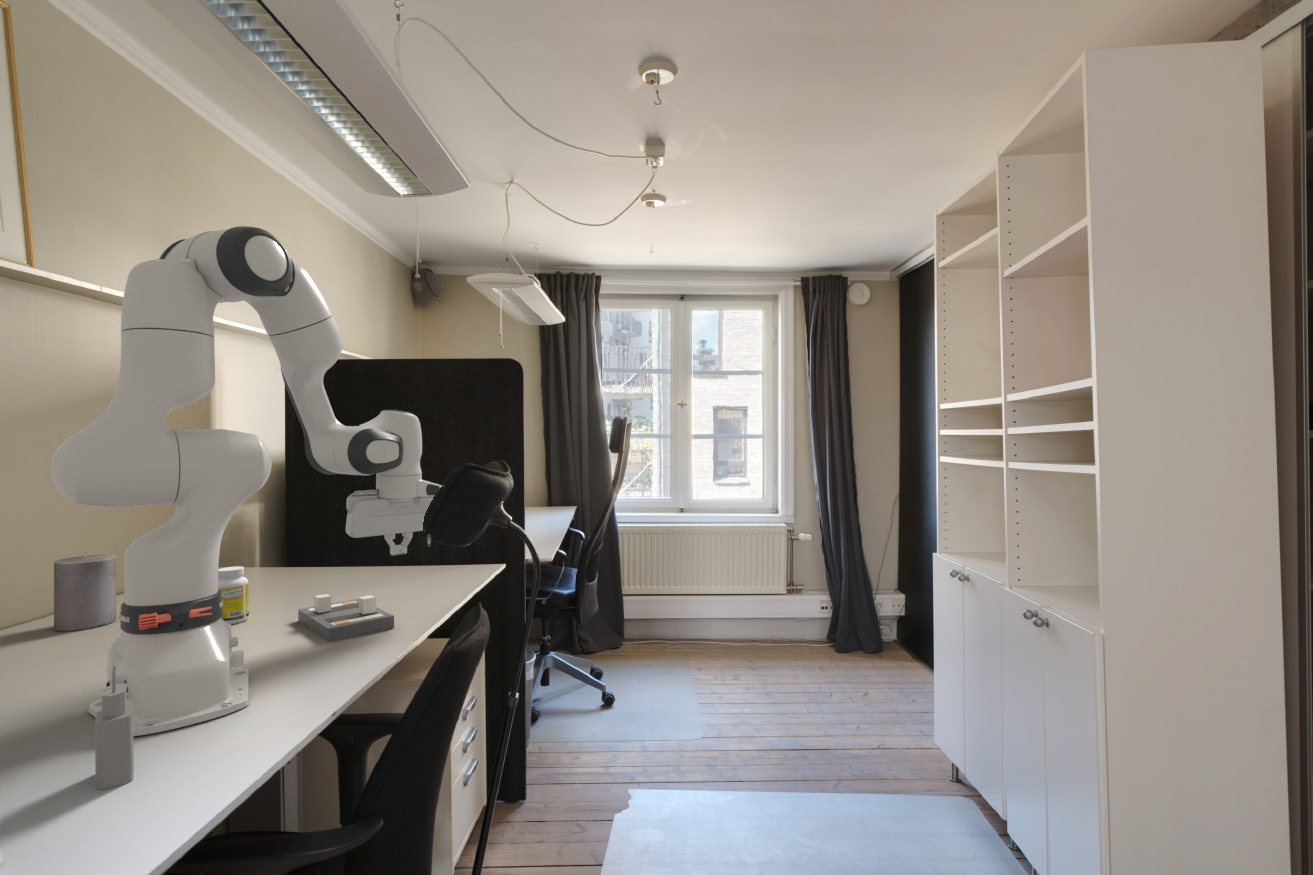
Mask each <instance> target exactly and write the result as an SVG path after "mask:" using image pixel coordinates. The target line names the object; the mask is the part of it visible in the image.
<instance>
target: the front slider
mask: <svg viewBox="0 0 1313 875" xmlns="http://www.w3.org/2000/svg"><path fill="white" fill-rule="evenodd" d="M376 598H377V597H376V596H374V595H371V594H370V595H363V596H359V597H358V599H359V612H360V613H361V614H363V615H364V614H369V613H374V612H376V607H377V604H376V602H377V599H376Z"/></svg>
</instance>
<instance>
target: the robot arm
mask: <svg viewBox="0 0 1313 875" xmlns="http://www.w3.org/2000/svg"><path fill="white" fill-rule="evenodd" d="M125 283H126V284H125V288H124V293H123V298H122V306H121V318H120V322H121V323H120V362H119V363H120V365H119V374H118V381H117V386H116V389H115V392H114V394H113V396H112V398H111V400H110V402H109V403H108V405H107V406H106V408H105V409H104V410H103V412H101V414H100V415H99V416H98V417H96V418H95V420H93V421H92V422H91V423H89V424H88V425H87V426H85V427H83V428H81V430H79V431H77V432H75V433H73V434H72V435H70V436H69V437H67V438H66V439H65V440H64V441H63V442H62V443H61V444H60V445H59V446H58V448H57V449H56V451H55V452H54V455H52V456H53V457H52V459H51V463H50V474H51V478H52V481H53V483H54V486H55V487H56V489H57V490H58V492H60V494H61V495H62V496H63V497H64V498H66V499H67V500H68V501H70V502H71V503H73V504H80V505H86V506H87V505H89V506H101V507H116V508H117V507H118V508H119V507H129V506H130V507H131V506H132V507H133V506H145V505H147V506H148V505H160V504H161V505H162V504H163V505H164V504H175V505H176V509H175V512H174V513H173V516H172V517H171V518H170V520H168V521H167V522H165V523H164V524H162V525H160V526H158V527H155V528H153V529H151V530H149V531H147V532H145V533H144V534H142V535H140V536H139V537H137V538H135V540H133V541H132V542H131V543H130V544H129V546H128V547H127V549H126V550H125V553H124V556H123V559H124V560H123V565H124V566H123V570H124V571H123V573H124V574H123V578H124V579H123V580H124V585H123V586H124V589H123V590H124V591H123V592H124V601H123V603H121V604H120V612H119V620H120V629H121V631H122V632H121V634H120V635H119V636H118V638H116V639H115V641H113V642H112V643H111V644H110V645H108V646H107V650H106V685H105V687H108V686H111V685H112V671H113V666H116V684H126V685H127V702H133V737H137V736H138V737H139V736H144V735H151V734H154V733H155V734H156V733H161V732H165V731H167V732H168V731H171V730H174V729H175V730H176V729H179V728H182V727H183V728H184V727H187V726H191V725H194V724H199V723H202V722H206V721H210V720H212V719H216V718H219V717H222V716H223V717H224V716H225V715H228V714H231V713H234V712H236V711H238V710H241V709H243V708H245V707H247V706H248V705H249V703H250V702H249V701H250V672H249V669H248V668H238V667H243V666H244V665H245V662H244V661H245V659H244V658H245V657H244V655H245V654H244V651H245V650H243V649H239V650H235V651H234V650H233V648H235V647H238V644H239V638H238V636H232V633H233V632H232V631H233V629H232V628H233V624H231V625H230V624H229V623H227V622H225V621H224V620H223V619H222V618H221V617H222V616H223V607H222V606H223V599H222V594H221V591H219V590H218V579H219V577H218V569H219V566H220V565H219V564H220V552H221V551H220V550H221V543H222V540H223V535H224V533H225V530H226V528H227V526H228V524H229V522H230V521H231V519H232V518H233V516H234V515H235V513H236V512H237V510H238V509H239V508H240V507H241V506H242V505H243V504H244V503H245V502H246V501H247V500H248V499H249V498H250V497H252V496H253V495H255V494H257V492H259V491H260V490H261V489H262V488H263V487H264V486H265V484H266V483H267V481H268V480H269V477H270V475H271V471H272V466H273V465H272V463H273V462H272V457H271V452H270V451H269V448H268V446H267V445H266V443H265V442H264V441H263V440H262V439H261V438H260V437H259V436H257V435H256V434H252V433H248V432H242V431H236V430H230V429H224V428H215V429H214V428H207V429H205V428H168V427H167V426H166V425H167V419H168V417H169V415H170V413H171V412H172V411H174V410H177V409H179V408H183V407H185V406H188V405H190V404H193V403H195V402H198V401H199V400H201V399H203V398H205V397H206V396H208V395H209V394H210V393H211V392H212V390H213V388H214V386H215V384H216V364H215V363H216V361H215V358H216V357H215V354H216V353H215V326H214V314H215V310H216V308H217V306H218V304H221V303H240V302H243V301H244V302H246V303H247V304H248V305H250V306H251V307H252V308H253V309H254V311H255V312H257V314H258V316H259V318H260V321H261V324H262V326H263V328H264V330H265V332H266V335H268V338H269V341H270V342H271V344H272V347H273V348H274V351H275V353H276V355H277V358H278V361H279V364H280V372H281V377H282V380H283V382H284V386H285V388H286V391H287V393H288V397H289V398H290V401H291V404H292V406H293V408H294V411H295V414H296V416H297V419H298V421H299V423H300V426H301V428H302V434H303V439H304V452H305V456H306V459H307V461H308V464H310V465H311V467H312V468H313V469H314V470H316V471H317V472H319V473H321V474H323V475H324V474H325V475H329V476H331V475H350V476H351V475H352V476H371V475H375V474H376V476H375V481H376V482H375V489H367V490H355V491H353V493H350V494H349V495H348V496H347V498H346V500H345V501H346V503H345V504H346V506H345V508H346V511H347V515H346V519H345V520H346V522H345V533H346V534H347V535H348V536H349V537H351V538H355V539H357V538H367V537H378V536H384V537H383V538H384V540H385V541H386V543H387V544H388V547H389V554H390V556H399V555H404V554H406V555H407V553H408V545H410V542H411V541H412V539H413V536H414V533H415V532H422V531H423V522H424V516H425V513H426V511H427V509H428V507H429V505H430V503H431V501H432V500H433V497H434V496H435V494H436V493H437V492H438V491H439V489H440V488H441V487H442V486H443V485H441V484H438V483H434V482H431V481H430V480H425V479H423V478H422V477H423V475H422V474H423V472H422V468H421V457H422V455H423V436H422V435H423V433H422V427H421V422H420V419H419V418H418V416H417V415H415V414H414V413H412V412H409V411H403V410H397V409H384V410H381V411H380V413H379V414H378V415H377V416H376V417H374V418H372V419H370V420H369V421H366V422H364V423H361V424H359V425H353V426H352V425H344V424H343V423H341V422H340V421H338V419H337V418H336V416H335V413H334V411H333V408H332V405H331V403H330V400H329V396H328V395H327V391H326V389H325V384H324V377H325V374H326V373H327V371H328V370H329V369H330V368H332V367H333V366H334V365H335V364H336V362H337V361H338V359H339V358H340V356H341V354H342V351H343V347H344V346H343V341H342V340H343V339H342V336H341V332H340V330H339V327H338V325H337V322H336V320H335V318H334V316H333V313H332V311H331V310H330V307H329V305H328V303H327V302H326V299H325V297H324V296H323V294H322V293H321V291H320V289H319V287H318V286H317V284H316V283H315V281H314V280H313V278H312V277H311V276H310V274H309V273H308V271H307V270H306V269H305V268H304V267H303V266H301V265H300V264H298V263H297V262H294V261H293V259H292V257H291V256H290V254H289V252H288V250H287V249H286V247H285V246H284V245H283V243H282V242H281V241H280V240H279V239H278V238H277V237H276V236H275V235H274V234H272V233H270V231H267V230H265V229H264V228H260V227H255V226H247V225H246V226H245V225H244V226H234V227H230V228H228V229H219V230H209V231H204V232H201V233H197V234H195V235H193V236H190V237H188V238H183V239H179V240H176V241H175V242H174V243H172V244H170V245H169V246H168V247H167V248H165V249H164V251H163V252H162V253H161V255H160V256H159V258H157V259H155V258H154V259H148V260H145V261H142V262H139V263H137V264H136V265H134V266H133V267H132V268H131V269H130V271H129V273H128V275H127V279H126V282H125ZM396 534H401V536H402V537H403V539H402V541H401V543H400V544H396V543H395V542H394V540H395V539H396ZM101 707H102V699H101V698H98V699H96V700H94V701H92V702H91V703H89V704H88V710H87V711H88V713H89V714H90V715H92V716H93V717H94V718H96V712H97V709H99V708H101Z"/></svg>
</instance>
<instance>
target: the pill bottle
mask: <svg viewBox="0 0 1313 875" xmlns="http://www.w3.org/2000/svg"><path fill="white" fill-rule="evenodd" d="M244 574H245V567H244V566H238V565H236V566H228V567H222V568H218V590H219V591H221V594H222V599H223V606H222V607H223V616H222V617H221V618H222V619H223V620H224V621H225V622H227V623H229V624H230V625H236V624H240V623H243V622H246V621H247V620H249V618H250V594H249V584H250V582H249V580H248V578H247V577H245V576H244Z"/></svg>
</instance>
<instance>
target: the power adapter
mask: <svg viewBox="0 0 1313 875" xmlns="http://www.w3.org/2000/svg"><path fill="white" fill-rule="evenodd" d="M100 699H102V707H101V708H99V709H97V712H96V718H95V717H94V718H95V719H94V754H95V755H94V762H95V764H94V766H95V768H94V770H95V771H94V772H95V776H94V777H95V780H94V781H95V790H96V791H104V790H105V791H106V790H108V789H113V788H115V787H119V786H123V785H126V784H129V783H131V782H132V781H134V771H135V770H134V769H135V766H134V765H135V762H134V760H135V759H134V758H135V755H134V736H133V702H127V685H126V684H116V666H113V671H112V685H111V686H108V687H106V686H105V687H104V688H102V690H101V697H100Z"/></svg>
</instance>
